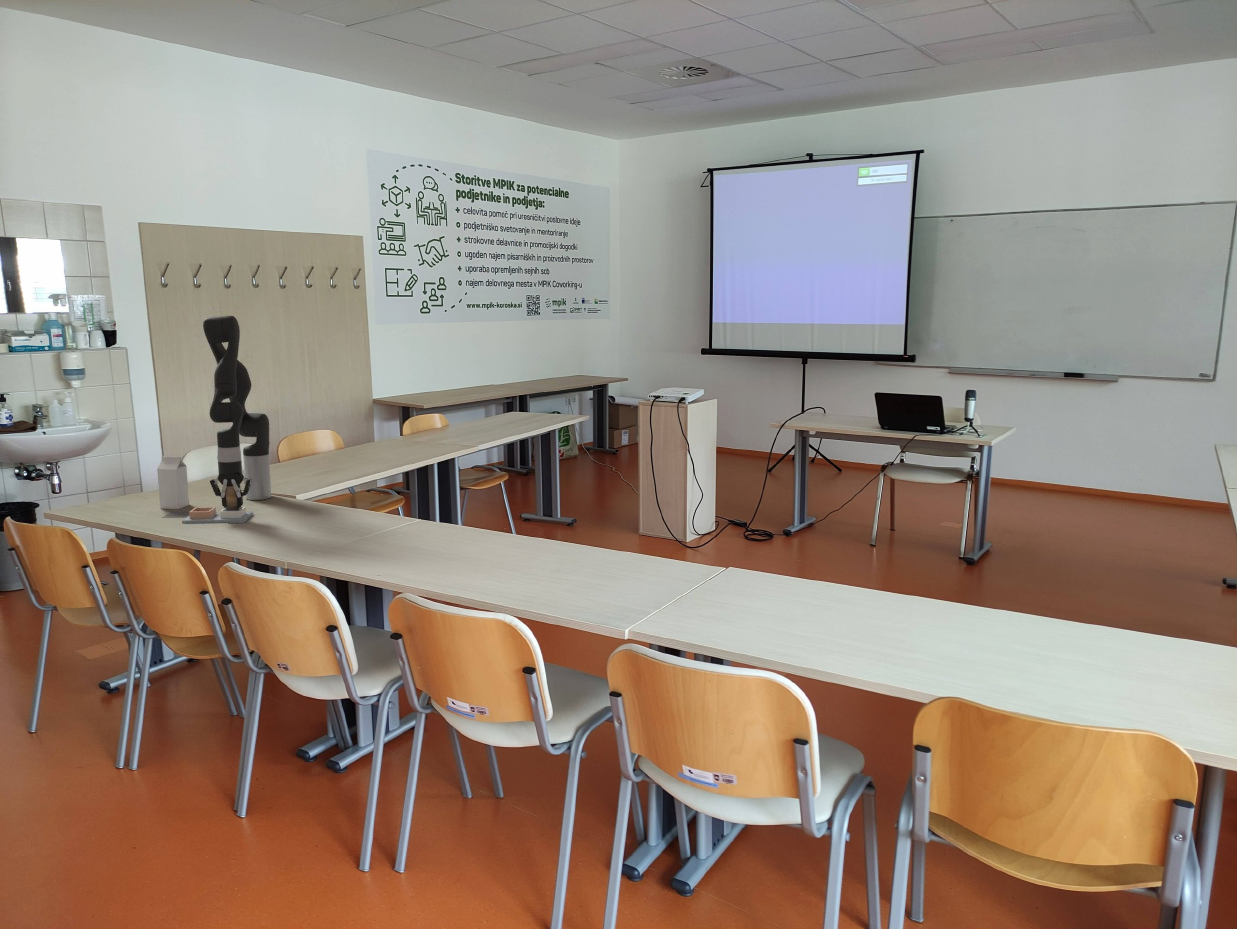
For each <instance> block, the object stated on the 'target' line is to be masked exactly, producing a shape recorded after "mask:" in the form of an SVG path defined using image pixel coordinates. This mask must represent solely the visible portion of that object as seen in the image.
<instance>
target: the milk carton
mask: <svg viewBox="0 0 1237 929" xmlns="http://www.w3.org/2000/svg"><path fill="white" fill-rule="evenodd" d="M156 472H157V481H158V482H157V483H158V495H159V497H158V498H159V508H160V509H161V510H162V509H163V510H165V509H166V510H167V509H169V510H179V509H180V510H181V509H183V508H184V507H185V508H186V507H187V506H189V505H190V496H189V485H188V484H189V483H188V482H189V481H188V480H189V479H188V466H187V464H185V462H184V461H183V460H182V457H181V456H161V460H160V462H159V465H158V466H157V469H156Z"/></svg>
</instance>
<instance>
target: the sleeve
mask: <svg viewBox="0 0 1237 929" xmlns="http://www.w3.org/2000/svg"><path fill="white" fill-rule="evenodd" d="M237 497H238V496H237V494H236V492H235V489H234V486H227V487H226V509H227V511H239V508H238V505H237Z"/></svg>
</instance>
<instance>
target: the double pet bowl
mask: <svg viewBox="0 0 1237 929" xmlns="http://www.w3.org/2000/svg"><path fill="white" fill-rule="evenodd" d="M246 507H247V506H241V507H240V508H239V511H227V509H226V508H224V507H223V508H222V509H221V510H220V511H217V507H215V506H214V507H213V506H211V507H210V506H203V507H201V506H200V507H197V506H196V507H193V509H192V510H189V511H190V512H189V516H188V517H184V518H183V519H182V520H181V523H182V524H206V523H207V524H214V523H216V524H219V523H223V524H224V523H225V524H226V523H227V524H244V523H246V522H247V521H248V520H249V519H250V518H251V517H252V516H254V512H253V511H247V508H246Z"/></svg>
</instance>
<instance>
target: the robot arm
mask: <svg viewBox="0 0 1237 929" xmlns="http://www.w3.org/2000/svg"><path fill="white" fill-rule="evenodd" d="M202 327H203V328H202V329H203V332H204V334H205V338H206V341H207V343H208V345H209V347H210V350H211V352H212V354H213V357H214V358H215V362H216V365H217V366H216V367H215V370H214V374H213V375H214V376H213V378H214V379H213V380H214V383H213V384H214V394H213V398H212V402H211V405H210V408H209V417H210V420H211V421H212V422H213V423H217V424H219V423H220V424H221V423H222V424H223V423H232V425H231V426H229V427H227V428H223V429H220V430H218V431H217V433H216V439H217V441H216V442H217V456H216V458H217V467H218V468H217V469H218V475H217V478H216V477H215V478H212V479H210V480H209V484H210V486H211V487H212V490H213V493H214V495H215V496H216V497H220V498H221V506H222V507H223V509H224V508H226V487H227V486H234V489H235V492H236V494H237V496H238V497H237V505H238V508H240V507H243V505H244V498H243V497H245V499H246V500H250V501H261V500H268V499H271V498H272V485H271V483H272V481H271V465H270V419H269V417H268V415H267V414H265V413H261V412H260V413H257V412H255V413H254V412H251V413H250V412H248V411H247V409H246V401H247V399H248V396H249V395H250V392H251V390H252V381H251V378H250V374H249V371H248V369H247V367H246V366H245V365H244V364H243V363H242V362H241V361H240V360H238V356H239V347H240V341H241V340H240V335H241V330H240V324H239V321H238V319H237V318H236V317H235V316H234V315H220V316H211V317H206V318H204V320H203V322H202ZM223 343H228V344H227V348H226V347H225V346H224V344H223ZM227 399H229V401H225V400H227ZM223 401H225V402H223ZM240 436H241V437H244V438H255V442H254V443H252V444H250V445H247V446H245V447H243V448H242V450H241V442H240ZM242 455H243V456H242ZM242 457H243V461H242ZM243 473H244V474H243ZM219 483H220V484H221V486H222V488H220V487H219V485H218V484H219ZM242 483H243V484H244V488H243V491H242V487H241V484H242Z"/></svg>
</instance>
